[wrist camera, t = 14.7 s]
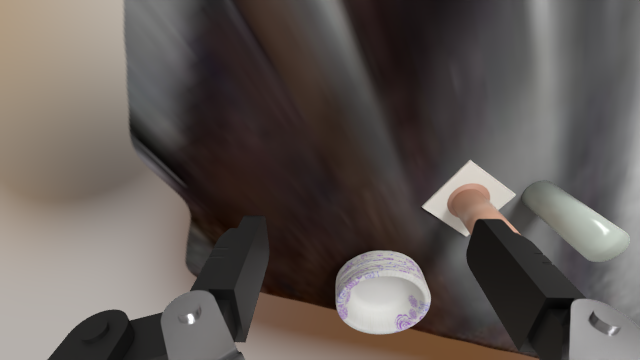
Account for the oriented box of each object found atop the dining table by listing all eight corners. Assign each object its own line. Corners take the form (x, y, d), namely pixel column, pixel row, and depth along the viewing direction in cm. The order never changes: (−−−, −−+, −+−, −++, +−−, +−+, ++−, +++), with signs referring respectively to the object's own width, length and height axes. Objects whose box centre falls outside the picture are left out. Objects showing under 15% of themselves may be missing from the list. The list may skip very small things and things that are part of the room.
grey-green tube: (542, 175, 42) (614, 222, 31) (562, 191, 43) (638, 242, 32) (515, 197, 44) (574, 249, 33) (535, 212, 45) (598, 267, 34)
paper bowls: (406, 302, 56) (417, 341, 49) (330, 294, 55) (330, 331, 48) (428, 242, 49) (445, 277, 42) (341, 232, 48) (343, 266, 41)
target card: (469, 159, 41) (470, 160, 41) (515, 193, 44) (516, 195, 43) (421, 206, 45) (422, 207, 45) (465, 235, 48) (466, 237, 47)
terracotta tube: (469, 183, 43) (514, 232, 32) (490, 199, 44) (541, 252, 33) (445, 204, 45) (480, 258, 34) (466, 219, 46) (506, 276, 35)
